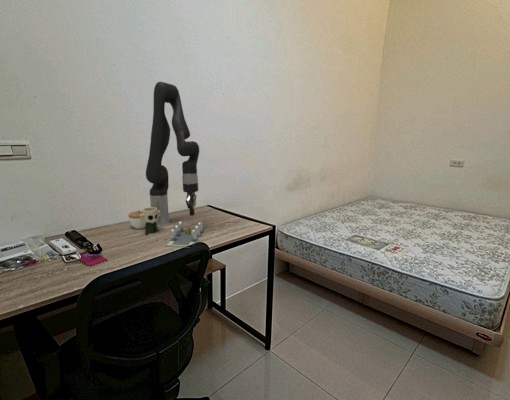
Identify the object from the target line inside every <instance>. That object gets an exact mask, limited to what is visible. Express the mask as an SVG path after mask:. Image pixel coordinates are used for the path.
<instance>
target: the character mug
mask: <svg viewBox="0 0 510 400" xmlns="http://www.w3.org/2000/svg"><path fill="white" fill-rule="evenodd" d="M142 211H143V214H141V215H140V220H141V221H142V220H144V222H146V225H145V228H144V233H145V234H147V235H149V234H152V235H153V234H154V233H158V232H159V228H158V225H157V223H156V221H157V220H158V217H160V211H158V210H157V208H155V207H151V206H150V207H144V208H142ZM142 216H143V218H142Z"/></svg>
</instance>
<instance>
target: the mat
mask: <svg viewBox="0 0 510 400" xmlns="http://www.w3.org/2000/svg"><path fill="white" fill-rule="evenodd" d="M183 229H184V232H182V233H180V236H179V237H176V241H171V240H170V241H169V242H168V243H167V244H166V245H165V247H168V248H186V247H185V246H188V245H191V244H193V243H196V242H192V241H191V235H185V228H183ZM204 231H205V230H204V229H203V232H204ZM202 234H203V233H200V236H201V235H202ZM199 238H200V237H197V240H199Z"/></svg>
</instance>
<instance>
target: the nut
mask: <svg viewBox="0 0 510 400" xmlns="http://www.w3.org/2000/svg"><path fill="white" fill-rule="evenodd" d="M184 229H185V235H191V230H192V229H194V227H193V226H187V227H186V226H185V227H184Z"/></svg>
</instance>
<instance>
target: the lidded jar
mask: <svg viewBox="0 0 510 400" xmlns="http://www.w3.org/2000/svg"><path fill="white" fill-rule="evenodd" d="M141 214H143V210H137V211H133V212H129V213H128V219H129V224H130V225H131V227H133V229H135V230H139V229H140V230H141V229H142V230H143V229H145V225H146V222H144V220H142V221H141V220H140V215H141ZM142 218H143V216H142Z"/></svg>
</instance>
